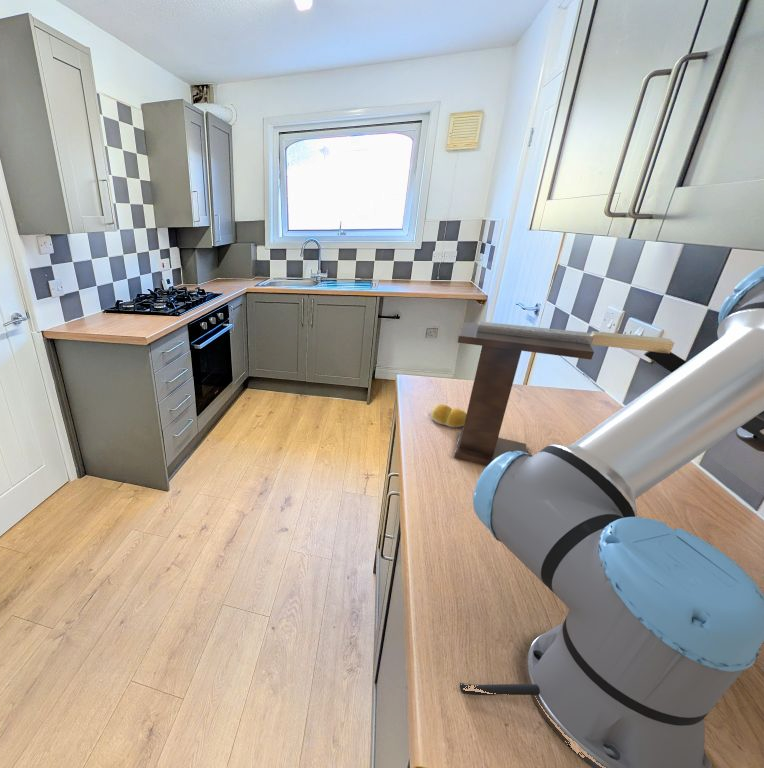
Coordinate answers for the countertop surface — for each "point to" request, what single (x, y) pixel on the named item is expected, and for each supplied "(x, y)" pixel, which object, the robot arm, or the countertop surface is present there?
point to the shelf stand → (499, 389)
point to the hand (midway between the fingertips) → (661, 360)
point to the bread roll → (448, 416)
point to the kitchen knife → (581, 337)
